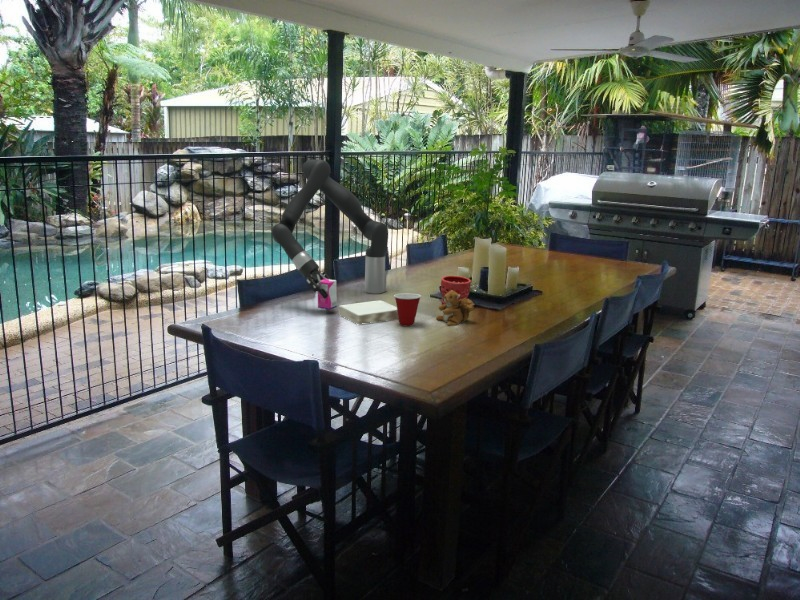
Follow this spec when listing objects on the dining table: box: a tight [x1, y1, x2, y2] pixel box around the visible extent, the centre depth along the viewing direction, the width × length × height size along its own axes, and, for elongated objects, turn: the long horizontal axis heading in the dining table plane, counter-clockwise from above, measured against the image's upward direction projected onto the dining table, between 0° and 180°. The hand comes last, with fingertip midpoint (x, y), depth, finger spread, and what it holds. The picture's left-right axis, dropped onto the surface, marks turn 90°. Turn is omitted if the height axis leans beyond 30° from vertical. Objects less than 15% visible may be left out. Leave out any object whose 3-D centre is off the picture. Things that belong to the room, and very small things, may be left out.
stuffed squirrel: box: [435, 290, 475, 327], centre depth 265 cm, size 10×14×13 cm
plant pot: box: [440, 275, 472, 305], centre depth 291 cm, size 13×13×12 cm
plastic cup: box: [393, 292, 422, 327], centre depth 259 cm, size 11×11×12 cm
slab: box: [338, 299, 399, 325], centre depth 268 cm, size 20×16×4 cm
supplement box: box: [317, 278, 338, 311], centre depth 270 cm, size 6×6×12 cm
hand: (330, 295), depth 270 cm, fingers closed on supplement box, 6 cm apart
